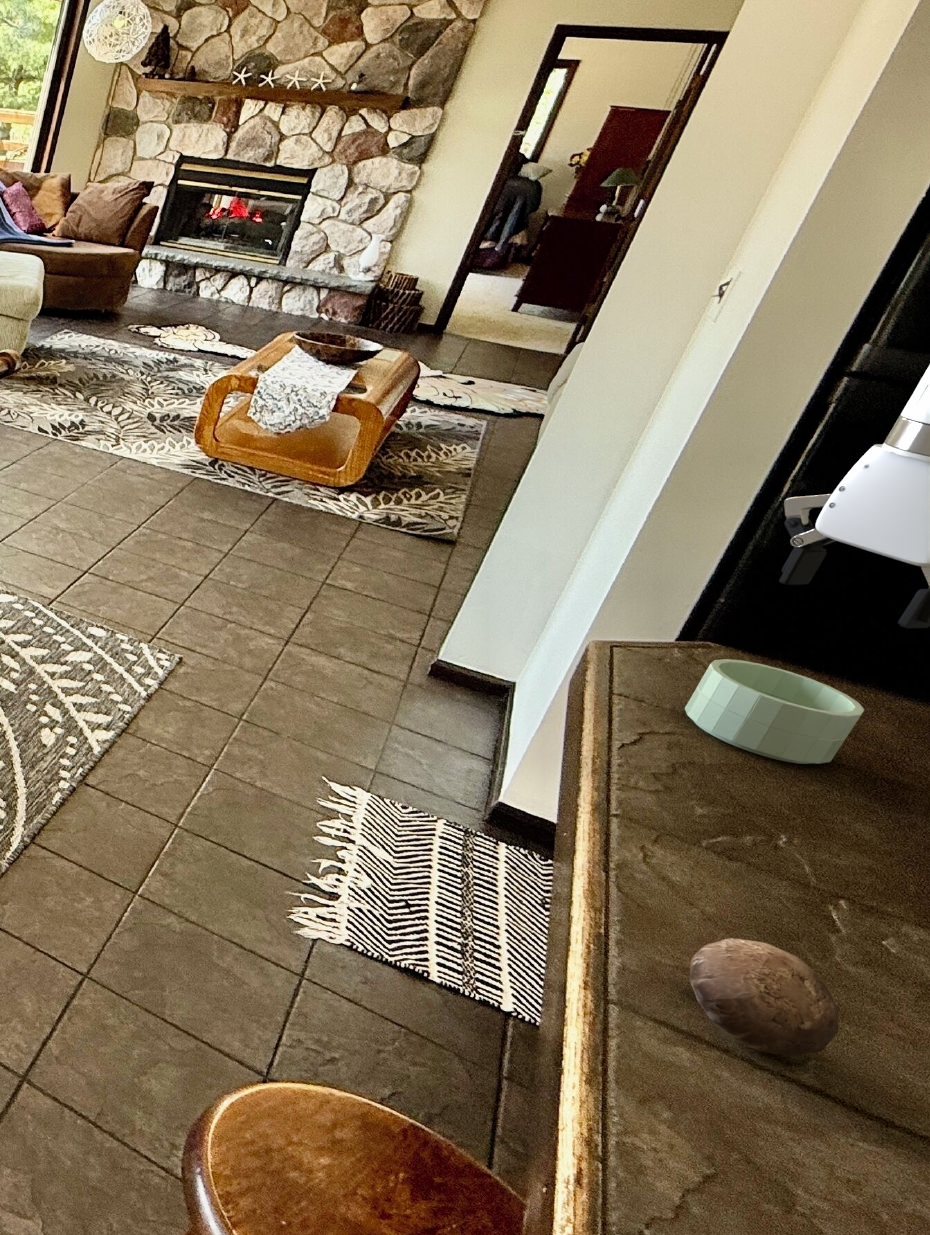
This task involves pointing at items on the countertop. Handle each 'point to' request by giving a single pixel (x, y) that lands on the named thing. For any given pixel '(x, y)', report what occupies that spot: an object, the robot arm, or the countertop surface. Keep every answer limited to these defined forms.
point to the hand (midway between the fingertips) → (850, 604)
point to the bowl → (772, 711)
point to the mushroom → (764, 997)
